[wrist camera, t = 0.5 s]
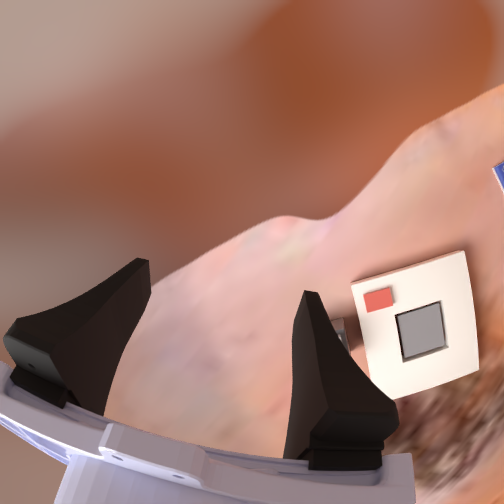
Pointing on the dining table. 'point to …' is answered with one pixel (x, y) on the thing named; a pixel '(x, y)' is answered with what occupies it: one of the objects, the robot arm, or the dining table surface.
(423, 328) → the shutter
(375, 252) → the dining table surface
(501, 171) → the hard drive
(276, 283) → the dining table surface
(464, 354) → the socket plate
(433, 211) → the dining table surface
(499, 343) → the dining table surface
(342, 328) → the plug
